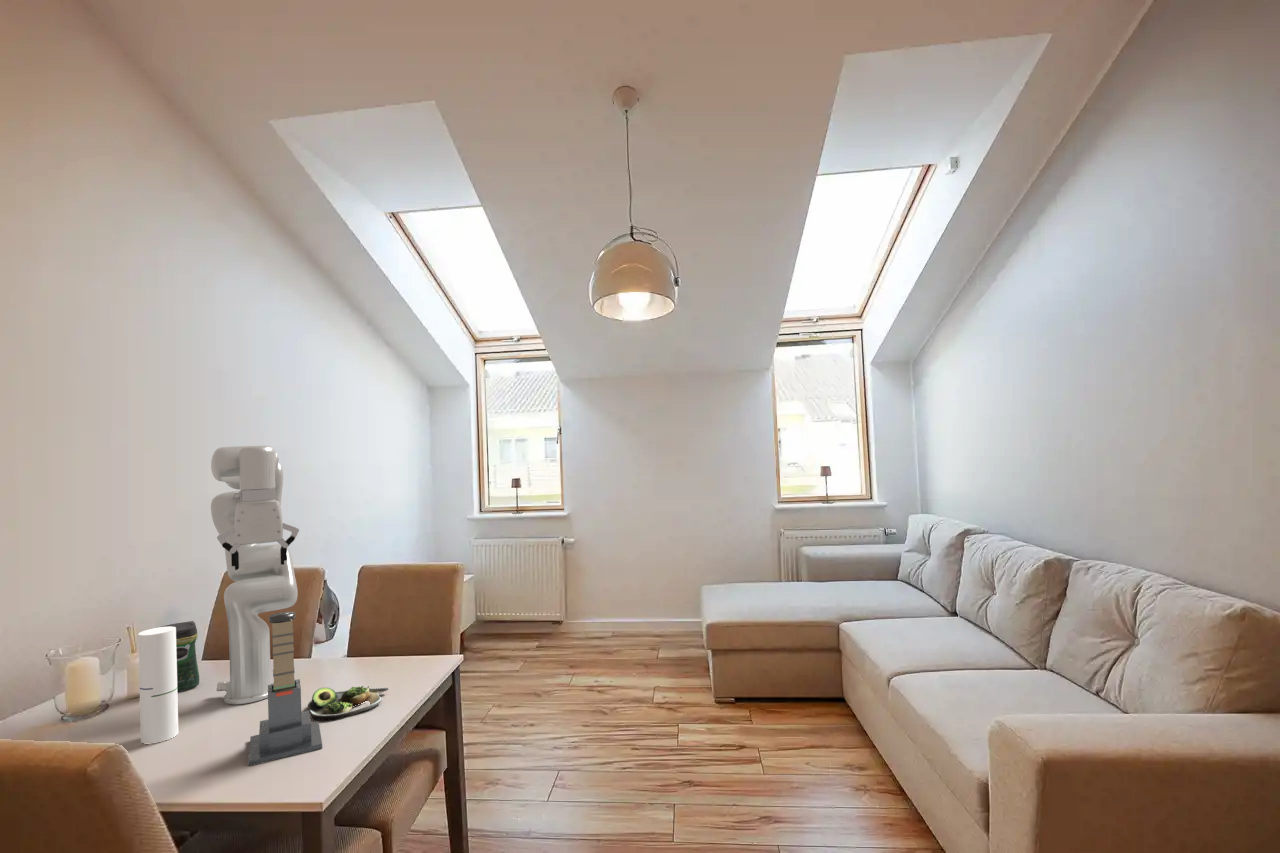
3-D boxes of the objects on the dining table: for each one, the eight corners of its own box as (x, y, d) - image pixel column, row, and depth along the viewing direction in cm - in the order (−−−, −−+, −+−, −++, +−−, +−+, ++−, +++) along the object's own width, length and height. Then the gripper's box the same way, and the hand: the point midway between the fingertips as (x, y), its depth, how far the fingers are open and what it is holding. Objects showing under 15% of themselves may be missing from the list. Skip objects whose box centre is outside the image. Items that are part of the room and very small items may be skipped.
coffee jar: (198, 680, 191) (197, 617, 192) (200, 688, 185) (198, 622, 185) (157, 689, 185) (156, 624, 186) (158, 697, 179) (156, 629, 180)
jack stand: (248, 766, 137) (246, 703, 137) (250, 740, 149) (249, 683, 149) (322, 748, 144) (320, 689, 144) (318, 725, 156) (316, 671, 156)
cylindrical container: (153, 732, 156) (151, 627, 157) (185, 729, 157) (182, 625, 158) (133, 745, 149) (130, 636, 150) (166, 743, 150) (163, 634, 150)
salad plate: (382, 686, 182) (381, 669, 182) (397, 706, 167) (396, 688, 167) (304, 704, 171) (304, 686, 171) (313, 727, 156) (312, 707, 156)
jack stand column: (271, 719, 143) (268, 619, 144) (271, 710, 148) (269, 614, 148) (298, 713, 146) (295, 615, 146) (297, 705, 150) (294, 610, 151)
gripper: (214, 500, 152) (216, 573, 151) (298, 494, 160) (300, 564, 160) (217, 498, 158) (219, 568, 158) (297, 493, 167) (299, 559, 166)
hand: (260, 566), depth 159 cm, fingers open, 9 cm apart
